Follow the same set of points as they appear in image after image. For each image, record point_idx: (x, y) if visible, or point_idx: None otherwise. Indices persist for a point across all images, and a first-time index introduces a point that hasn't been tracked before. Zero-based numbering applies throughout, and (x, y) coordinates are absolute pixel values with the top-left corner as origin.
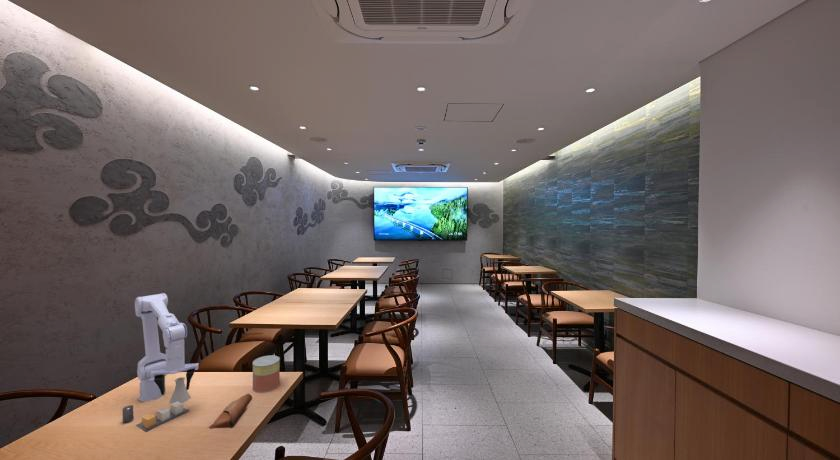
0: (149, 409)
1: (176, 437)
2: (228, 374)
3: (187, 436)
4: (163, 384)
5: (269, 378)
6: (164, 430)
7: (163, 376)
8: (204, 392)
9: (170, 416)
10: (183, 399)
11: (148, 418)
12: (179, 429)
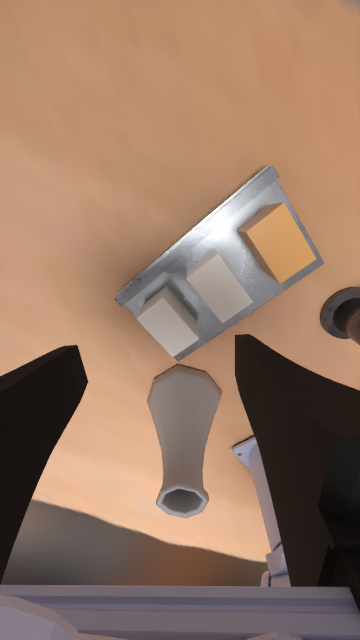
0: None
1: (104, 57)
2: (75, 506)
3: (45, 38)
4: (261, 416)
5: None
6: (187, 176)
7: (305, 541)
8: (116, 429)
9: (187, 280)
10: (165, 390)
11: (280, 222)
12: (117, 152)
